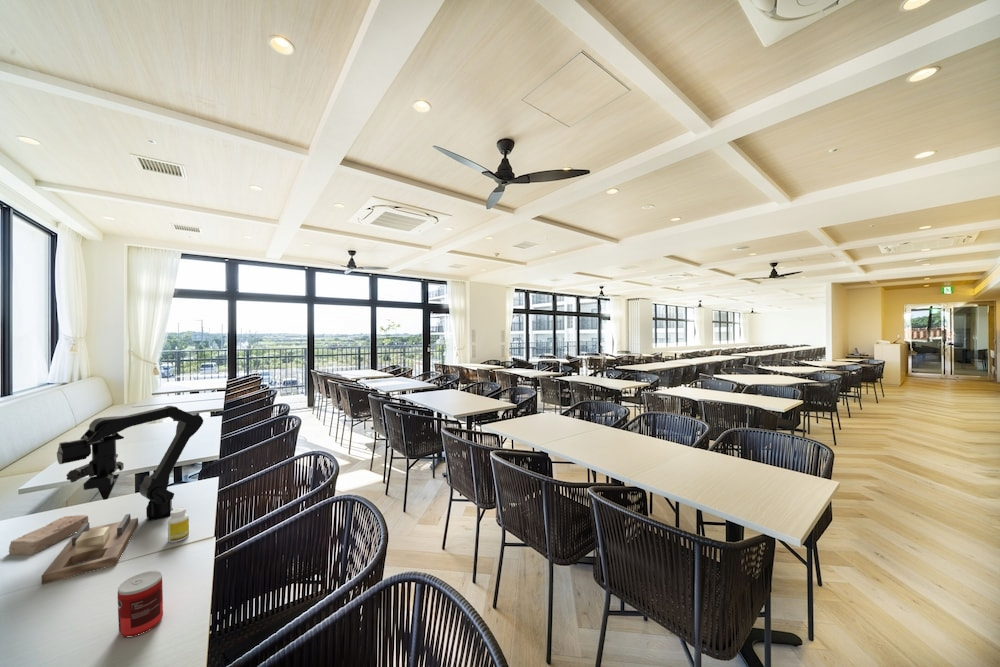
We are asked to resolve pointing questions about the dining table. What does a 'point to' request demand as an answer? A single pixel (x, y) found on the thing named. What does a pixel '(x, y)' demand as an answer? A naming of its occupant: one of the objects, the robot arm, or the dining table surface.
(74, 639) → the dining table surface
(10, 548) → the brick
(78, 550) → the block
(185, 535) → the supplement bottle
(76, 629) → the dining table surface
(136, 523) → the lane board
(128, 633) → the canned food
